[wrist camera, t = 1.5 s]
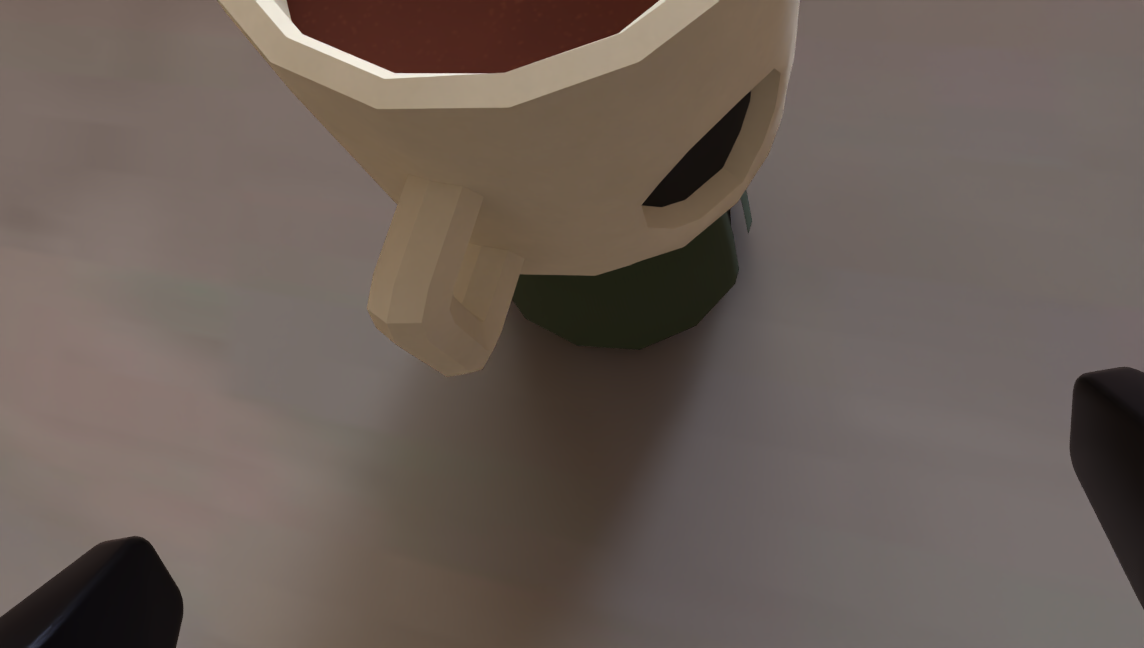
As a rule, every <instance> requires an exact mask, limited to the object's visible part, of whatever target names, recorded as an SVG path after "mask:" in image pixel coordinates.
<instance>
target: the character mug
mask: <svg viewBox="0 0 1144 648" xmlns="http://www.w3.org/2000/svg"><path fill="white" fill-rule="evenodd" d="M217 1H218V3H219V4H220V5H221V7H222V8H223V10H224V11H225V12H226V14H227V15H228V16H229V17H230V18H231V20H232V21H233V22H234V23H235V24H236V26H237V27H238V28H239V29H240V30H241V32H242V33H243V34H244V35H245V36H246V38H247V39H248V40H249V41H250V42H251V44H252V45H253V46H254V47H255V48H256V50H257V51H258V52H259V53H260V54H261V56H262V57H263V58H264V59H265V60H266V62H267V63H268V64H269V65H270V66H271V68H272V69H273V70H274V71H275V72H276V74H277V75H278V76H279V77H280V78H281V80H282V81H283V82H284V83H285V84H286V86H287V87H288V88H289V89H290V90H291V92H292V93H293V94H294V95H295V96H296V97H297V98H298V99H299V100H300V101H301V102H302V103H303V104H304V105H305V106H306V108H307V109H308V110H309V111H310V112H311V113H312V114H313V115H314V116H315V117H316V118H317V119H318V120H319V121H320V123H321V124H322V125H323V126H324V127H325V128H326V129H327V130H328V131H329V132H330V133H331V134H332V135H333V136H334V137H335V139H336V140H337V141H338V142H339V143H340V144H341V145H342V146H343V147H344V148H345V149H346V150H347V151H348V152H349V154H350V155H351V156H352V157H353V158H354V159H355V160H356V161H357V162H358V163H359V164H360V165H361V166H362V167H363V168H364V170H365V171H366V172H367V173H368V174H369V175H370V176H371V177H372V178H373V179H374V180H375V181H376V182H377V183H378V185H379V186H380V187H381V188H382V189H383V190H384V191H385V192H386V193H387V194H388V195H389V196H390V197H391V198H392V199H393V201H394V202H395V203H396V204H397V208H396V211H395V214H394V216H393V219H392V222H391V225H390V228H389V231H388V234H387V236H386V239H385V242H384V245H383V248H382V251H381V254H380V256H379V259H378V262H377V265H376V268H375V271H374V274H373V279H372V284H371V289H370V294H369V300H368V305H367V310H368V312H369V314H370V316H371V318H372V320H373V322H374V324H375V326H376V328H377V329H378V330H379V331H381V332H382V333H383V334H384V335H385V336H387V337H388V338H389V339H390V340H391V341H392V342H394V343H395V344H396V345H397V346H399V347H401V348H402V349H404V350H405V351H407V352H408V353H410V354H412V355H413V356H415V357H416V358H418V359H419V360H421V361H422V362H424V363H426V364H427V365H429V366H430V367H432V368H433V369H435V370H437V371H438V372H440V373H441V374H443V375H444V376H446V377H451V376H457V375H462V374H468V373H473V372H476V371H479V370H482V369H483V368H484V366H485V364H486V362H487V360H488V359H489V357H490V355H491V353H492V352H493V350H494V348H495V346H496V343H497V341H498V339H499V337H500V334H501V332H502V329H503V326H504V322H505V319H506V316H507V313H508V310H509V307H510V303H511V300H513V301H514V303H515V304H516V305H517V307H518V308H519V310H520V311H521V313H522V314H523V315H524V317H525V318H526V319H528V320H530V321H531V322H533V323H535V324H537V325H539V326H541V327H543V328H545V329H547V330H549V331H551V332H553V333H554V334H556V335H558V336H560V337H562V338H564V339H566V340H568V341H570V342H572V343H574V344H576V345H578V346H593V347H608V348H623V349H638V350H640V349H642V348H644V347H647V346H649V345H652V344H654V343H656V342H659V341H661V340H663V339H666V338H668V337H670V336H673V335H675V334H677V333H680V332H682V331H684V330H687V329H689V328H692V327H694V326H696V325H697V324H698V323H699V322H700V321H701V320H702V319H703V318H704V317H705V315H706V314H707V313H708V312H709V311H710V310H711V309H712V308H713V307H714V306H715V305H716V304H717V303H718V302H719V300H720V299H721V298H722V297H723V296H724V295H725V294H726V293H727V292H728V291H729V290H730V289H731V288H732V287H733V285H734V284H735V282H736V278H737V274H738V271H739V267H738V261H737V255H736V249H735V242H734V236H733V233H732V229H731V219H730V208H731V207H733V206H734V205H735V204H736V203H737V202H738V201H739V199H741V202H742V205H743V210H744V215H745V220H746V225H747V230H748V233H749V229H750V226H751V222H752V218H751V213H750V208H749V202H748V197H747V192H746V188H747V187H748V185H749V184H750V182H751V181H752V179H753V178H754V176H755V175H756V173H757V171H758V170H759V168H760V167H761V165H762V164H763V162H764V161H765V159H766V158H767V156H768V154H769V152H770V149H771V146H772V144H773V141H774V138H775V136H776V133H777V131H778V128H779V125H780V123H781V120H782V116H783V111H784V105H785V98H786V92H787V86H788V81H789V77H790V73H791V69H792V65H793V61H794V54H795V44H796V35H797V25H798V13H799V2H800V0H217Z"/></svg>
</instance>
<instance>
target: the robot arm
mask: <svg viewBox="0 0 1144 648" xmlns="http://www.w3.org/2000/svg"><path fill="white" fill-rule="evenodd" d="M1070 456H1071V460H1072V464H1073V467H1074V470H1075V473H1076V475H1077V477H1078V479H1079V481H1080V483H1081V485H1082V487H1083V489H1084V491H1085V493H1086V495H1087V497H1088V499H1089V501H1090V503H1091V505H1092V507H1093V509H1094V511H1095V513H1096V515H1097V517H1098V519H1099V521H1100V523H1101V525H1102V527H1103V529H1104V531H1105V533H1106V535H1107V537H1108V539H1109V541H1110V543H1111V545H1112V547H1113V549H1114V551H1115V554H1116V556H1117V558H1118V560H1119V562H1120V564H1121V566H1122V568H1123V570H1124V572H1125V574H1126V576H1127V578H1128V580H1129V582H1130V584H1131V586H1132V588H1133V590H1134V592H1135V594H1136V596H1137V598H1138V600H1139V601H1140V603H1141V605H1142V607H1143V609H1144V372H1141V371H1139V370H1136V369H1133V368H1130V367H1118V368H1112V369H1106V370H1101V371H1095V372H1089V373H1084V374H1082V375H1081V376H1080V377H1079V378H1077V380H1076V382H1075V384H1074V389H1073V400H1072V416H1071V432H1070ZM182 618H183V600H182V596H181V593H180V590H179V588H178V587H177V585H176V583H175V582H174V580H173V579H172V577H171V575H170V574H169V572H168V570H167V569H166V567H165V566H164V564H163V562H162V561H161V559H160V557H159V556H158V554H157V553H156V551H155V549H154V548H153V546H152V545H151V544H150V542H149V541H147V540H146V539H144V538H142V537H138V536H133V537H127V538H121V539H115V540H109V541H105V542H102V543H100V544H98V545H96V546H94V547H93V548H92V549H90V550H89V551H88V552H86V553H85V554H84V555H82V556H81V557H80V558H79V559H77V560H76V561H75V562H73V563H72V564H71V565H69V566H68V567H67V568H65V569H64V570H63V571H61V572H60V573H59V574H57V575H56V576H55V577H53V578H52V579H51V580H49V581H48V582H47V583H45V584H44V585H43V586H41V587H40V588H39V589H37V590H36V591H35V592H33V593H32V594H31V595H29V596H28V597H27V598H25V599H24V600H23V601H21V602H20V603H19V604H17V605H16V606H15V607H13V608H12V609H11V610H9V611H8V612H7V613H5V614H4V615H3V616H1V617H0V648H176V645H177V640H178V636H179V631H180V627H181V622H182Z"/></svg>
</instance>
